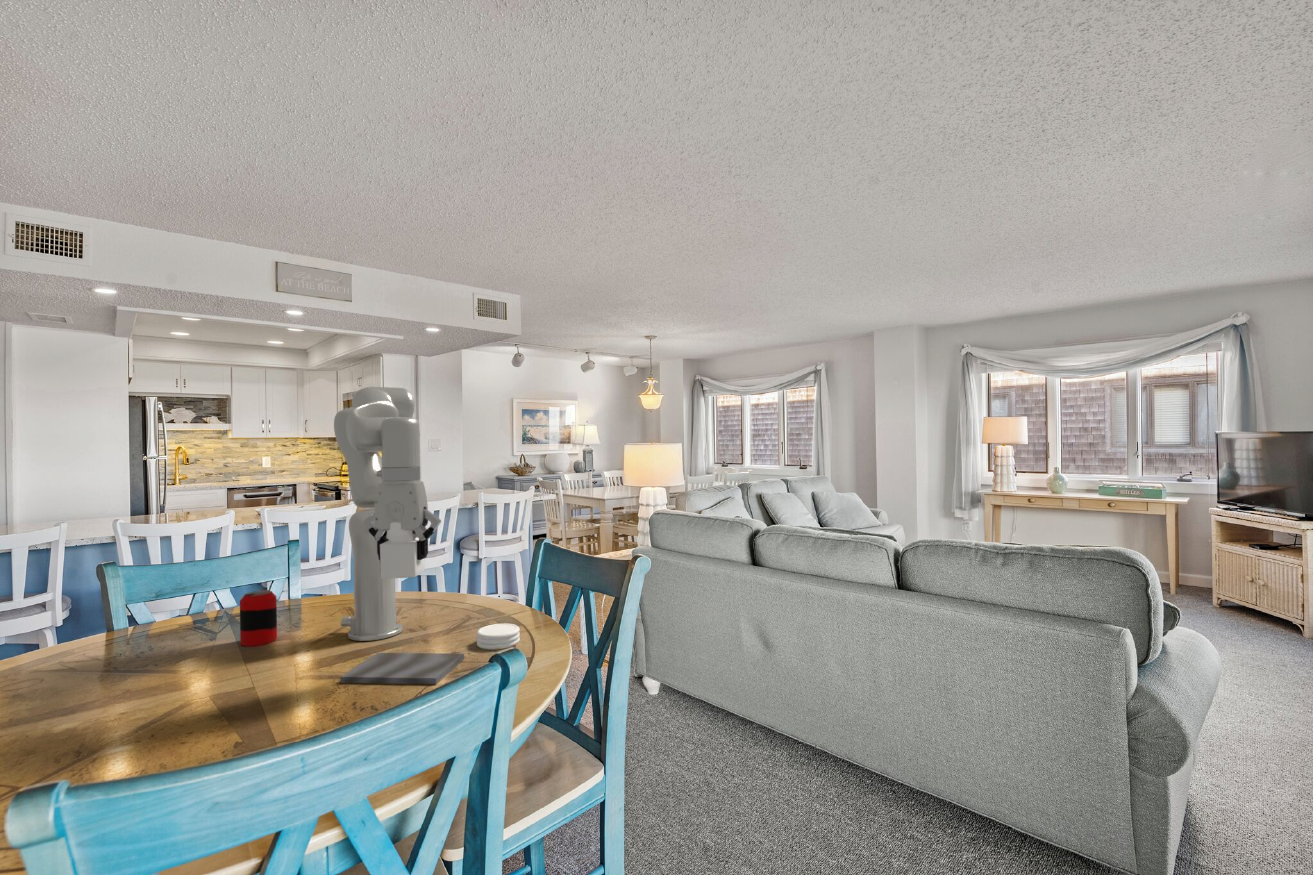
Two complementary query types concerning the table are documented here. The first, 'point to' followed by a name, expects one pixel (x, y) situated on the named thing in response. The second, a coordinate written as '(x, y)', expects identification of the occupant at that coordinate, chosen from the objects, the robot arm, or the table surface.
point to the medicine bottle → (400, 554)
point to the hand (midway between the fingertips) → (402, 558)
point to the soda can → (258, 618)
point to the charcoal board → (403, 668)
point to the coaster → (498, 636)
